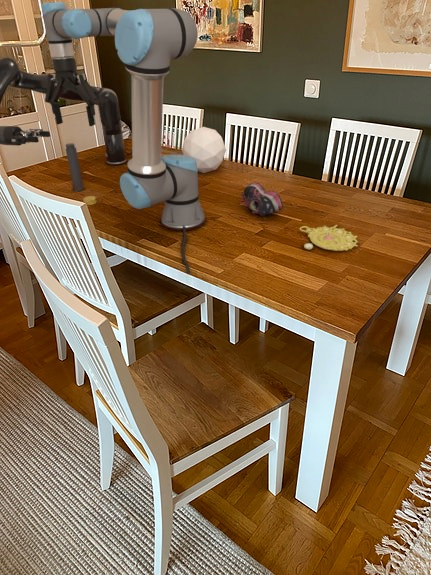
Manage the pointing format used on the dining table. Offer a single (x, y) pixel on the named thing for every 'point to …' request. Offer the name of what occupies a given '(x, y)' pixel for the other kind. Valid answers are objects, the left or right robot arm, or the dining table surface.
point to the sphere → (204, 148)
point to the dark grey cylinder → (74, 167)
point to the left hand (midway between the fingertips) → (43, 136)
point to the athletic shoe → (261, 200)
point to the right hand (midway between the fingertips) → (75, 124)
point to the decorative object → (330, 238)
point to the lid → (89, 200)
